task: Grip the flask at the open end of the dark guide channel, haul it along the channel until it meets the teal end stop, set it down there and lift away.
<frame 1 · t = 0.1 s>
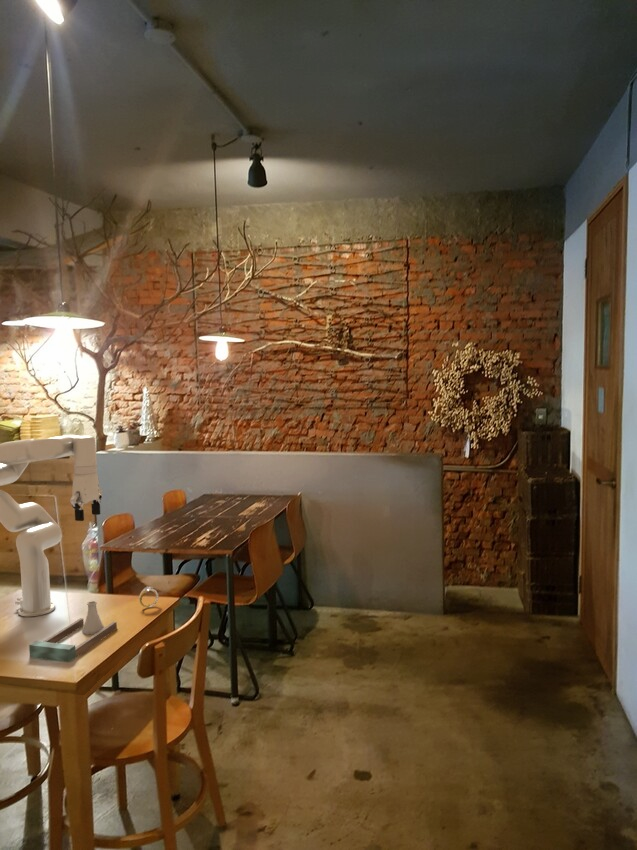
hand: (88, 517, 216), 37 cm above the table, tool pointing down, fingers open, 9 cm apart
guide channel: (78, 640, 198), on the table
flask: (93, 631, 206), on the table
ring: (149, 607, 226), on the table
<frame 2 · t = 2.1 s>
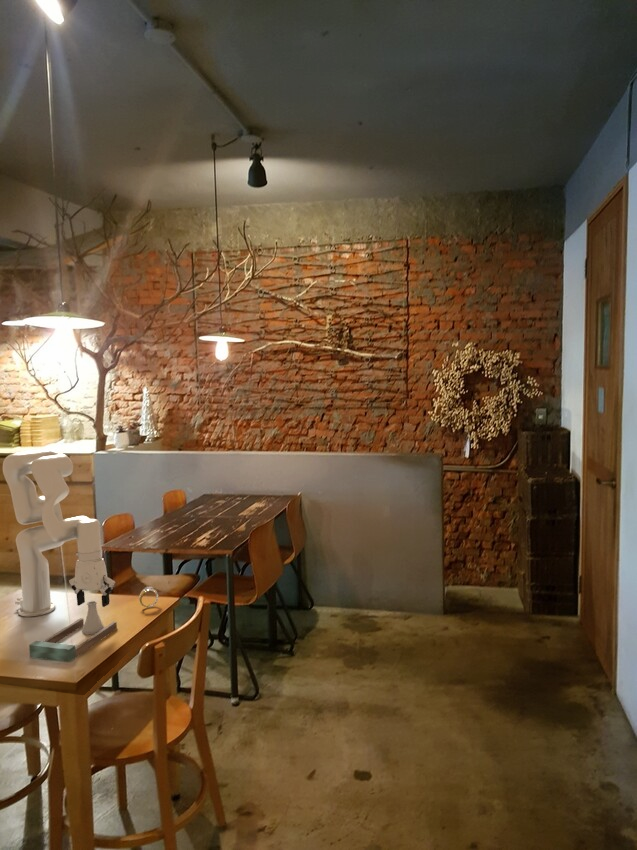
hand: (93, 604, 205), 9 cm above the table, tool pointing down, fingers open, 9 cm apart
nothing on the table moved.
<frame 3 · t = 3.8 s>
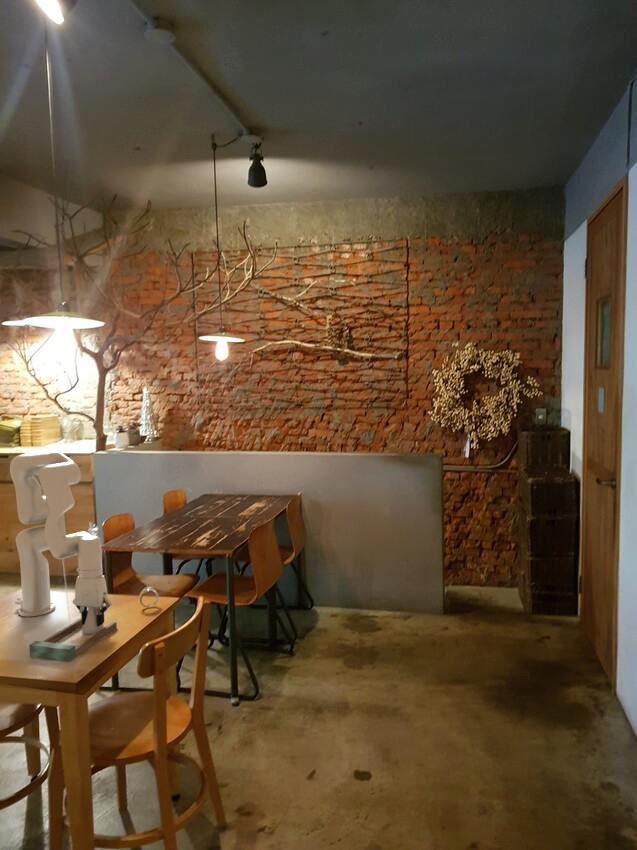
hand: (93, 623, 206), 2 cm above the table, tool pointing down, fingers closed on flask, 5 cm apart
flask: (93, 631, 206), on the table, touching gripper
everything else where it was.
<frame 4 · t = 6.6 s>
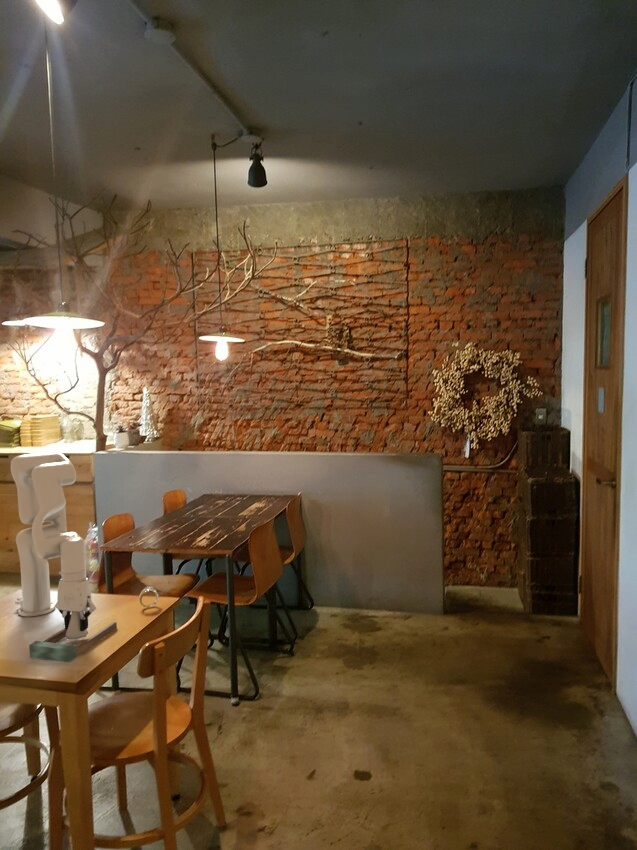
hand: (76, 628, 198), 4 cm above the table, tool pointing down, fingers closed on flask, 5 cm apart
flask: (76, 636, 198), point 2 cm above the table, touching gripper
everything else where it was.
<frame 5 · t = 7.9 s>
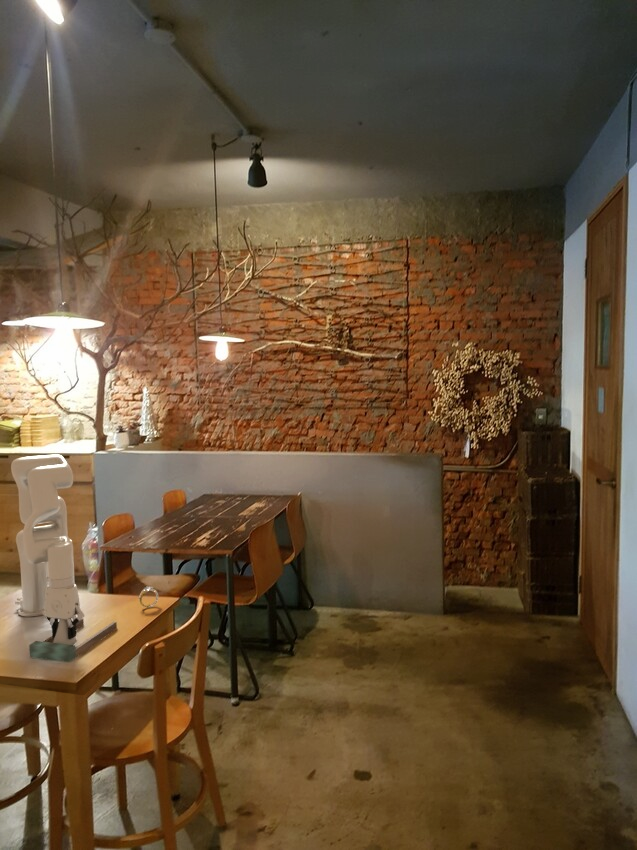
hand: (64, 636, 192), 4 cm above the table, tool pointing down, fingers closed on flask, 5 cm apart
flask: (64, 644, 192), point 2 cm above the table, touching gripper
everything else where it was.
when the fingers open (3 cm above the table, at t = 9.3 s): flask stays where it is, on the table.
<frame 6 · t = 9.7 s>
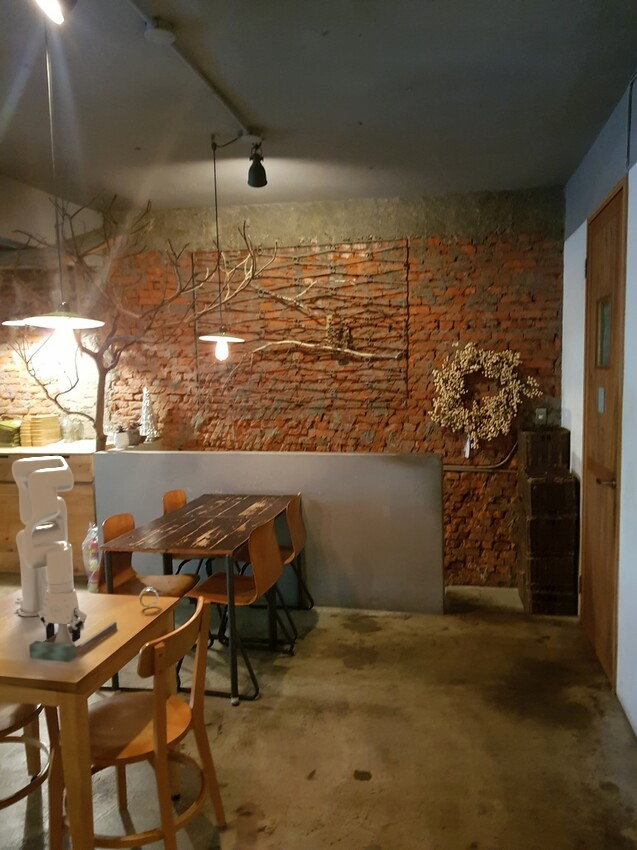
hand: (63, 638, 191), 4 cm above the table, tool pointing down, fingers open, 9 cm apart
flask: (64, 650, 192), on the table
everything else where it was.
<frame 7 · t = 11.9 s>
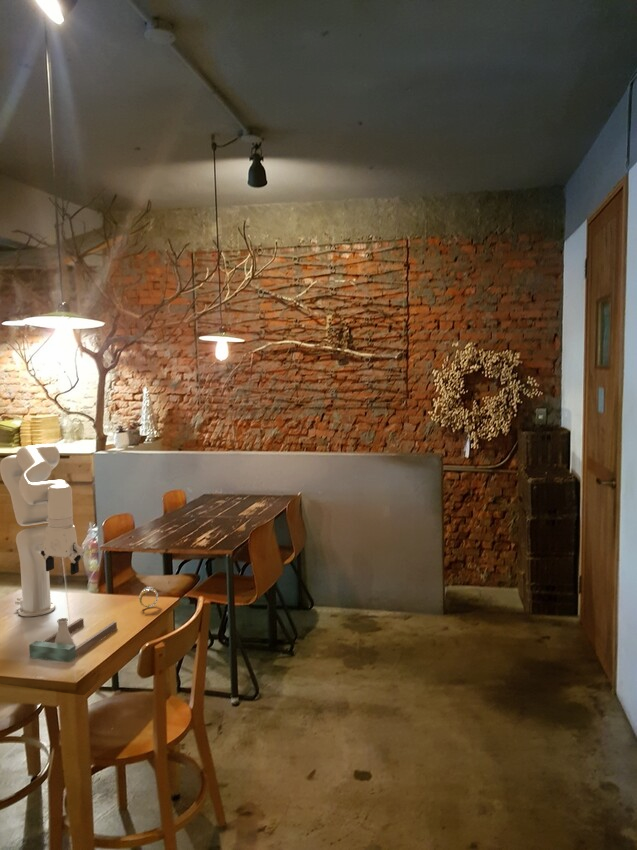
hand: (62, 571, 200), 22 cm above the table, tool pointing down, fingers open, 9 cm apart
nothing on the table moved.
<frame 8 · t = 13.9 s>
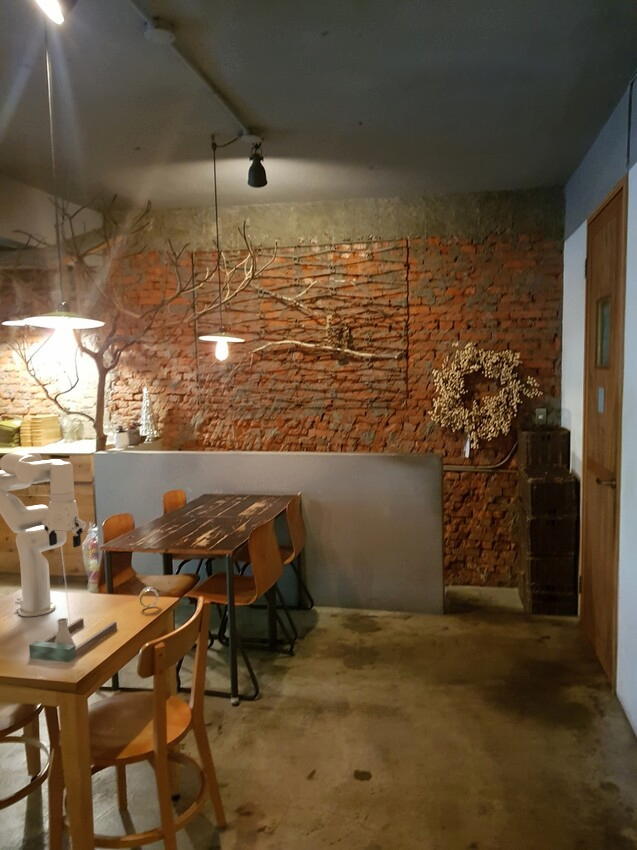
hand: (65, 545, 210), 28 cm above the table, tool pointing down, fingers open, 9 cm apart
nothing on the table moved.
at the end: flask 0.2 cm from the target spot, on the table; flask tilted 0°; the gripper is holding nothing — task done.
